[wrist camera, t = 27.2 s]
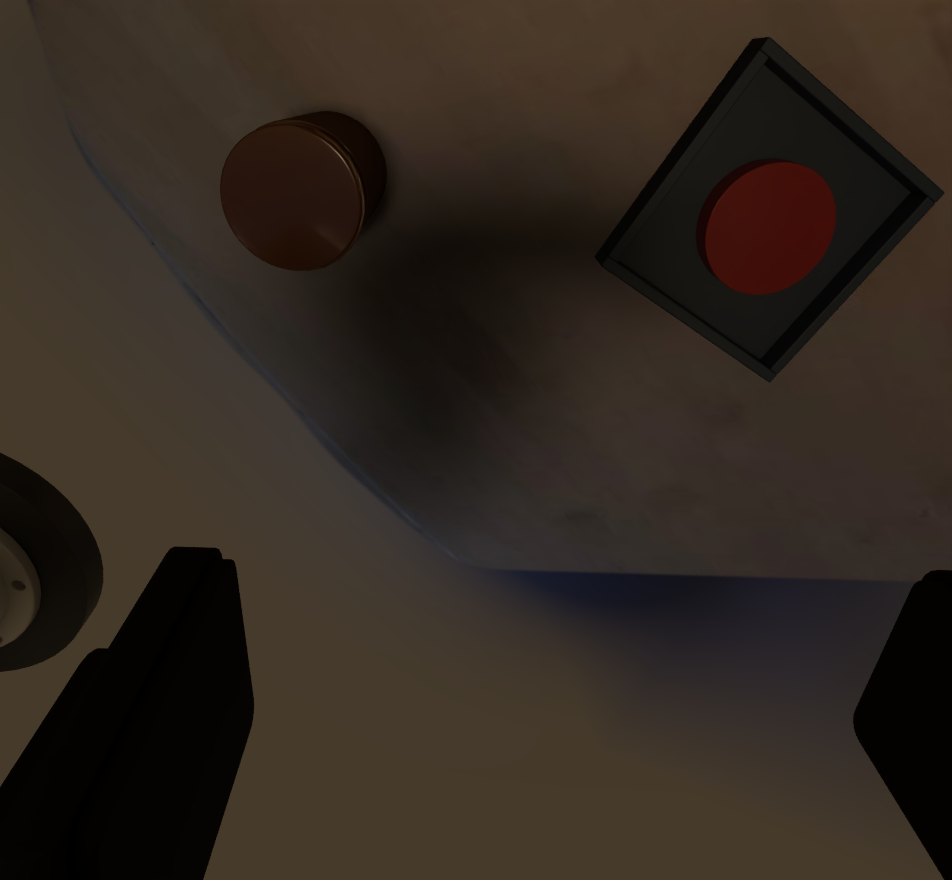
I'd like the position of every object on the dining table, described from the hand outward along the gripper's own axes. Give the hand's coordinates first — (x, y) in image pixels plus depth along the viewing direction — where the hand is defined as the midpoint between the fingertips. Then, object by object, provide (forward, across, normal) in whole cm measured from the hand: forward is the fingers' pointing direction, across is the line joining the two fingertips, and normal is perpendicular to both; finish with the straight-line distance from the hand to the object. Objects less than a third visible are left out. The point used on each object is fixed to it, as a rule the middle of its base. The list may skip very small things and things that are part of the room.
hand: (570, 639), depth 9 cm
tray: (+30, -14, -1) cm, 33 cm away
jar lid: (+28, -14, -1) cm, 31 cm away
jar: (+30, +8, -2) cm, 31 cm away
